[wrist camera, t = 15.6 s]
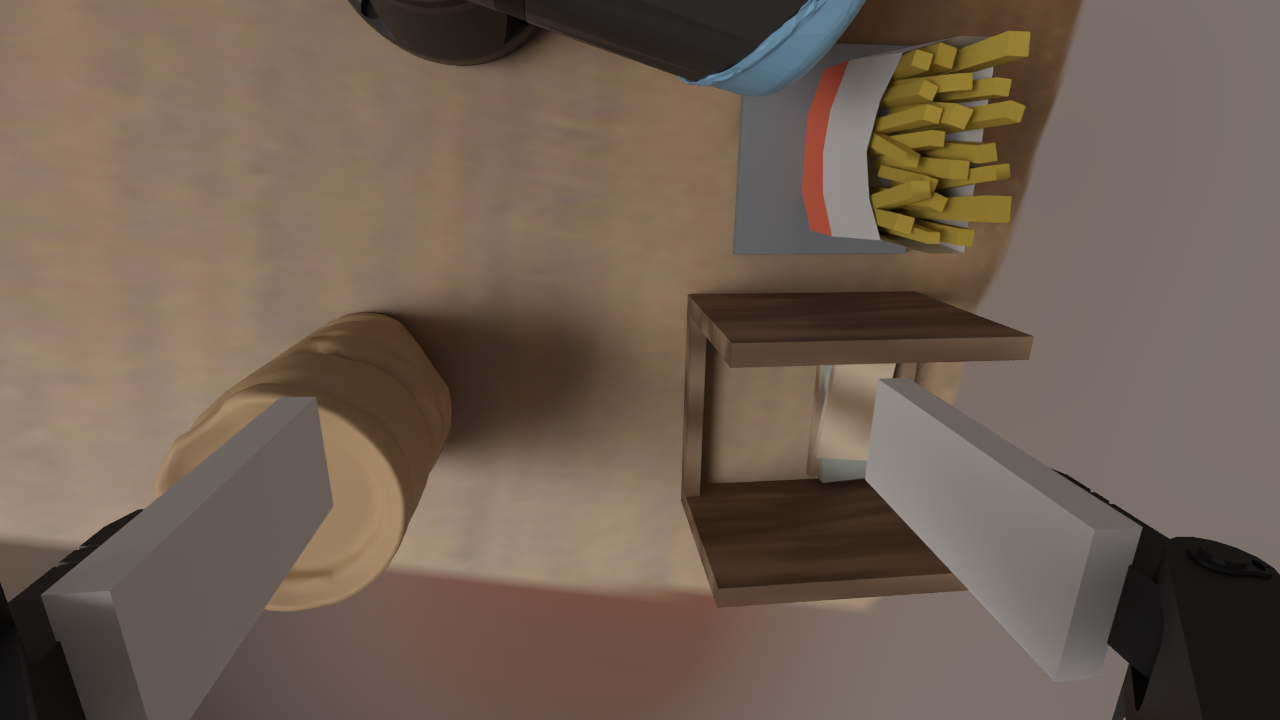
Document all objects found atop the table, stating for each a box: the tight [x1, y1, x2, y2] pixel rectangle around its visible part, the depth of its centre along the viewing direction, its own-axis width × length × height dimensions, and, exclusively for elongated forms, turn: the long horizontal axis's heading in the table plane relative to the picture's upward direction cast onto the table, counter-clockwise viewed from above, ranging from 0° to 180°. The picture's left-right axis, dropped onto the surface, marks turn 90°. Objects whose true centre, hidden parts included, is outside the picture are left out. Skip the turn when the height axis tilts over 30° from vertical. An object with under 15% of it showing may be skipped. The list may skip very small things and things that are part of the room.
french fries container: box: [802, 31, 1030, 253], centre depth 38 cm, size 5×11×18 cm, turn 0°
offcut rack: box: [681, 292, 1033, 608], centre depth 47 cm, size 18×19×14 cm
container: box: [154, 312, 452, 611], centre depth 41 cm, size 13×13×18 cm
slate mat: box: [733, 43, 912, 254], centre depth 47 cm, size 15×14×1 cm
